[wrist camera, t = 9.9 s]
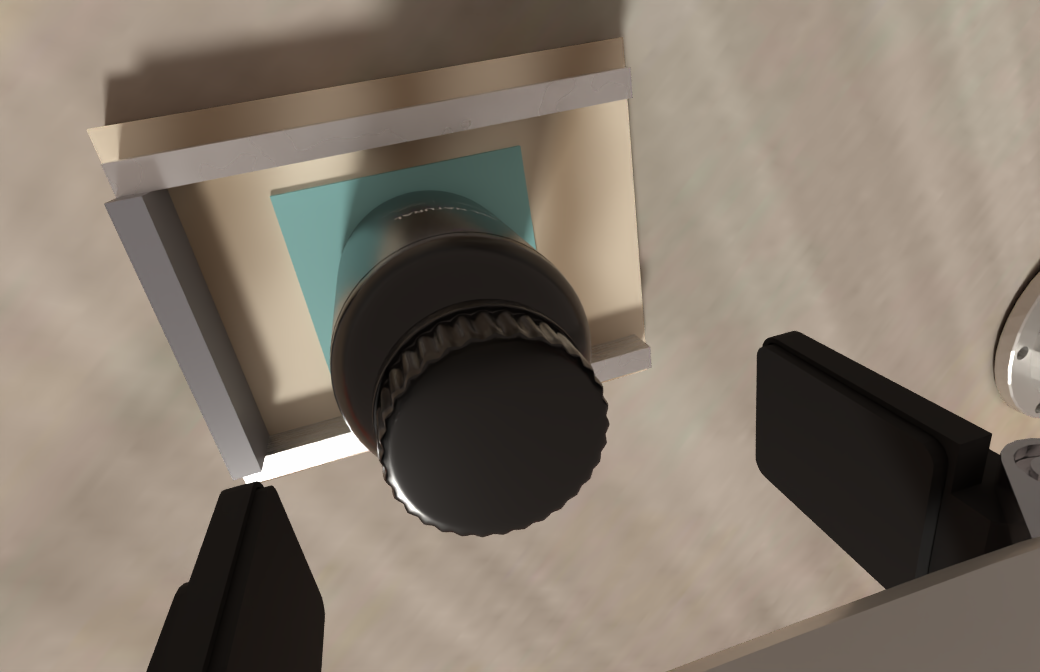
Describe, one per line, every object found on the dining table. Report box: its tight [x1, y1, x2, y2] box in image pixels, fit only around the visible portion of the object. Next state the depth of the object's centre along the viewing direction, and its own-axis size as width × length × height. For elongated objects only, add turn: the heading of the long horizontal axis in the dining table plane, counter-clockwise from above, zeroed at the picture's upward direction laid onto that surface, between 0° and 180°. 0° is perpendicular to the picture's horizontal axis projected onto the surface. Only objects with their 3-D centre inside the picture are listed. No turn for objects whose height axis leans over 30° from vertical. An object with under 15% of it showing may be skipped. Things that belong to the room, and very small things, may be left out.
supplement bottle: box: [330, 190, 609, 537], centre depth 17 cm, size 7×7×12 cm
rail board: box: [86, 37, 652, 484], centre depth 22 cm, size 18×14×4 cm
